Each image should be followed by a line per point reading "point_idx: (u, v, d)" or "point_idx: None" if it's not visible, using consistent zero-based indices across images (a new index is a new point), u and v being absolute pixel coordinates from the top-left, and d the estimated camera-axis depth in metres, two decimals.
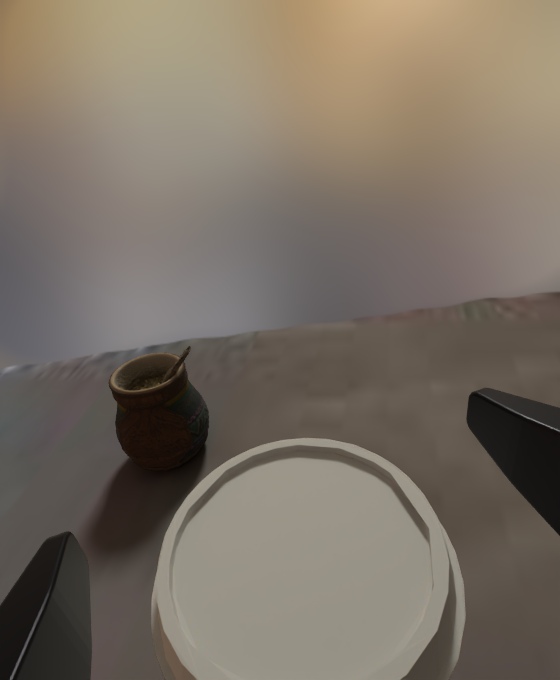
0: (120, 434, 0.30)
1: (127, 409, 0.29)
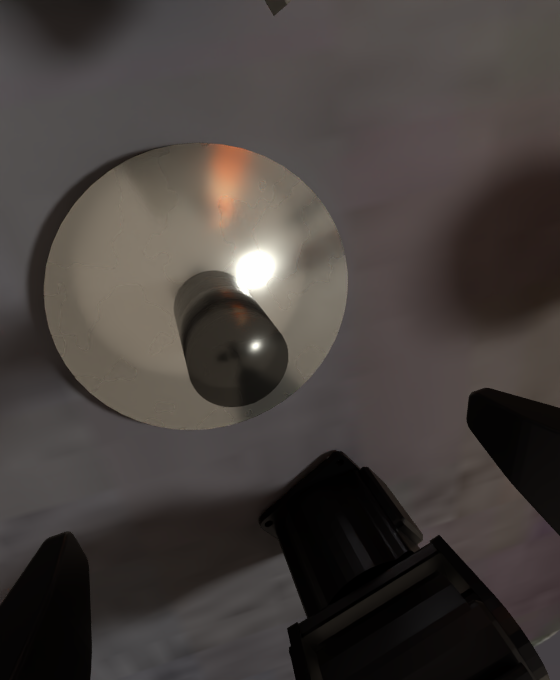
0: None
1: None
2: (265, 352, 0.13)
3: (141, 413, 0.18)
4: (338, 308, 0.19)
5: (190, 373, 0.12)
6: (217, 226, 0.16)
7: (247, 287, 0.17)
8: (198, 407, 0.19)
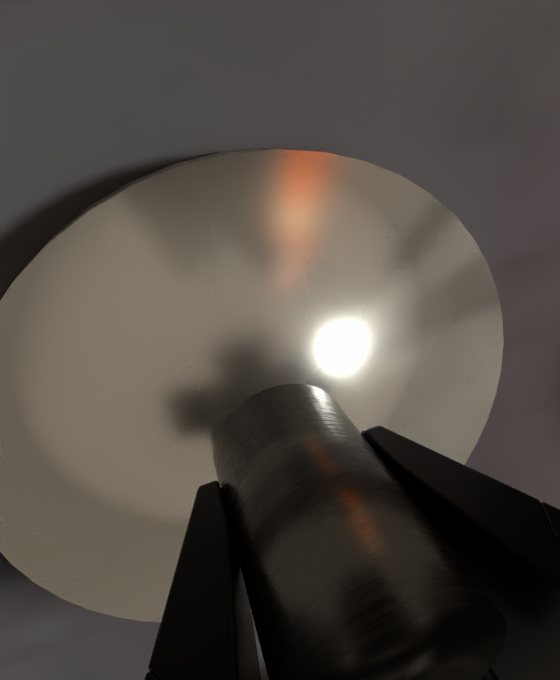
0: None
1: None
2: (460, 655, 0.05)
3: (151, 610, 0.11)
4: (477, 422, 0.11)
5: None
6: (302, 309, 0.08)
7: (342, 405, 0.10)
8: None
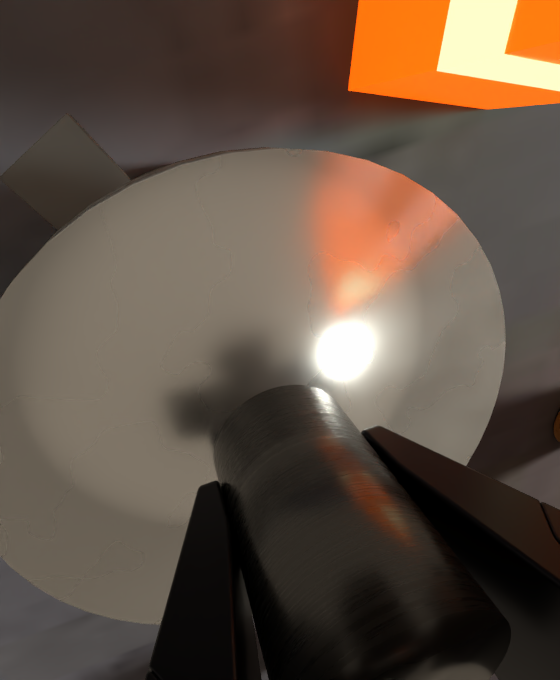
0: None
1: None
2: (464, 661, 0.05)
3: (151, 612, 0.10)
4: (478, 423, 0.11)
5: None
6: (303, 309, 0.08)
7: (343, 406, 0.10)
8: None
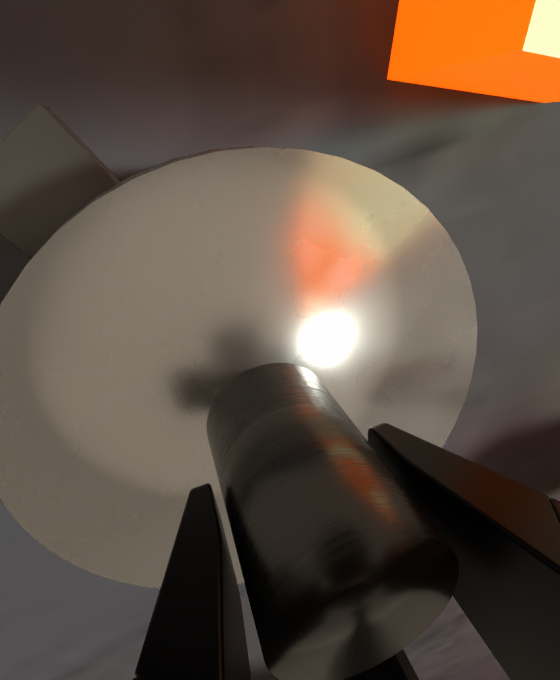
0: None
1: None
2: (417, 587, 0.06)
3: (149, 576, 0.11)
4: (454, 403, 0.12)
5: (267, 654, 0.06)
6: (287, 293, 0.09)
7: (326, 384, 0.10)
8: (238, 556, 0.12)
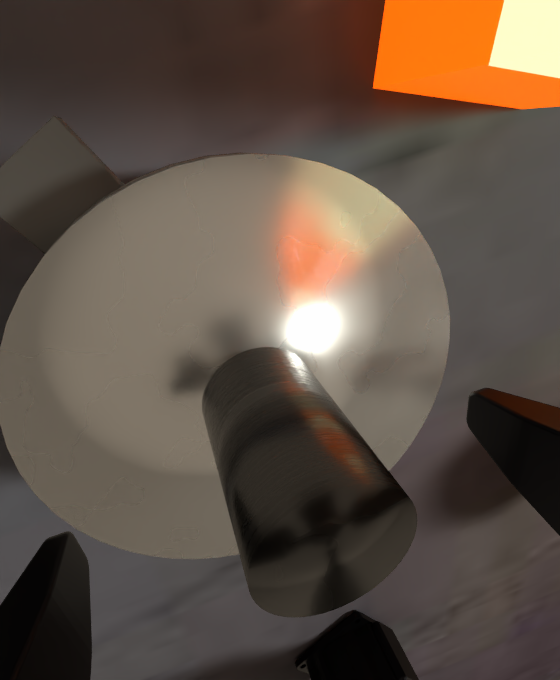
0: None
1: None
2: (380, 530, 0.07)
3: (150, 545, 0.12)
4: (431, 387, 0.13)
5: (251, 583, 0.07)
6: (273, 283, 0.10)
7: (310, 367, 0.11)
8: (231, 528, 0.13)
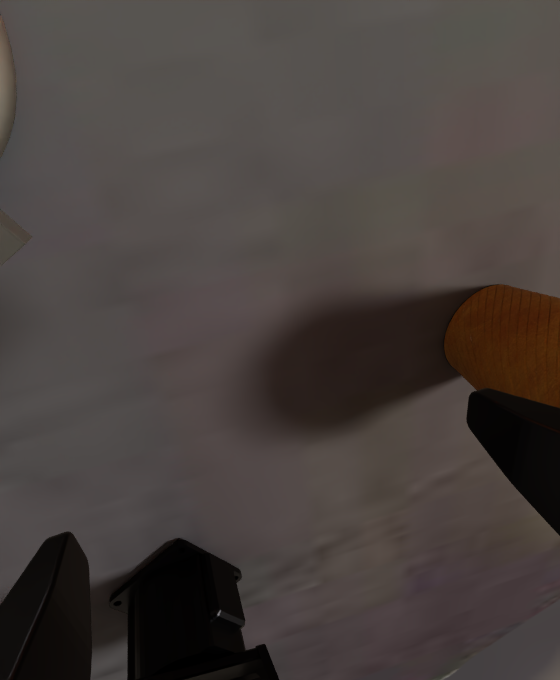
0: None
1: None
2: None
3: None
4: None
5: None
6: None
7: None
8: None
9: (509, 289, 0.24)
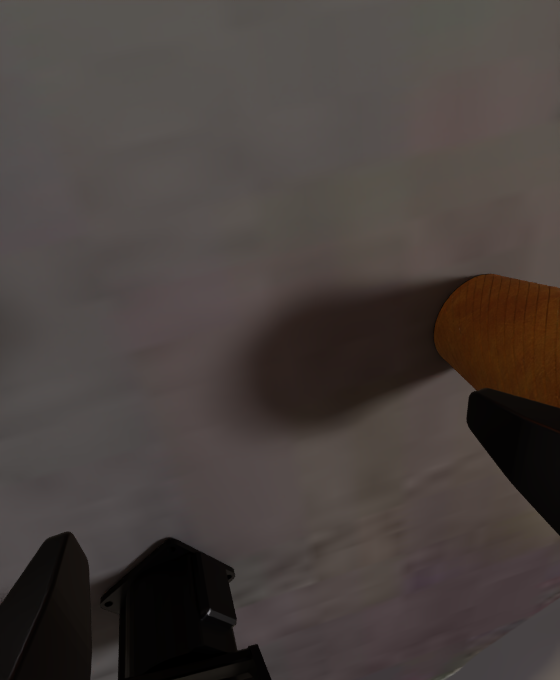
0: None
1: None
2: None
3: None
4: None
5: None
6: None
7: None
8: None
9: (498, 278, 0.24)
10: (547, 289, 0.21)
